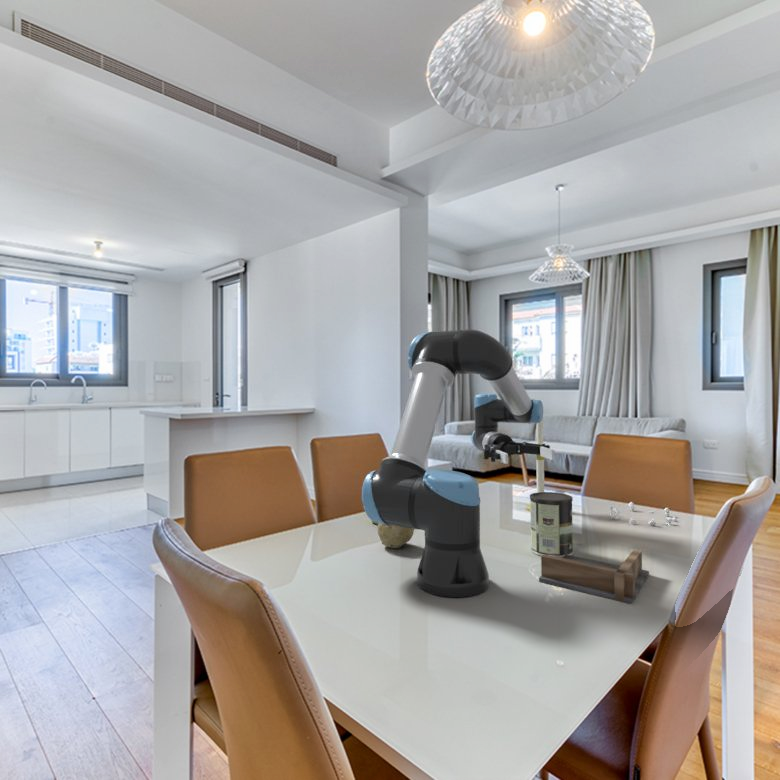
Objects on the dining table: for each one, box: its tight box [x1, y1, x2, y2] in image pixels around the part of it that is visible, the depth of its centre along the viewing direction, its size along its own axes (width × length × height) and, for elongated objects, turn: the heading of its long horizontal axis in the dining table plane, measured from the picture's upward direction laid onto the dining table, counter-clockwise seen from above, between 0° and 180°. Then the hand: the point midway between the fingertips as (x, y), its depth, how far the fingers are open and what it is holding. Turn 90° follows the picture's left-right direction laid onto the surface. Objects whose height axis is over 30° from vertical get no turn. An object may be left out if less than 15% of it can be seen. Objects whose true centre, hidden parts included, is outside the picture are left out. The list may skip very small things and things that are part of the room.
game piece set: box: [606, 501, 678, 526], centre depth 152 cm, size 19×20×4 cm
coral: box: [377, 523, 415, 549], centre depth 128 cm, size 10×10×10 cm
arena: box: [538, 548, 650, 605], centre depth 105 cm, size 18×18×5 cm
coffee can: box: [529, 491, 574, 558], centre depth 122 cm, size 10×10×14 cm
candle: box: [525, 417, 554, 512], centre depth 165 cm, size 10×10×38 cm
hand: (530, 457), depth 131 cm, fingers open, 13 cm apart
